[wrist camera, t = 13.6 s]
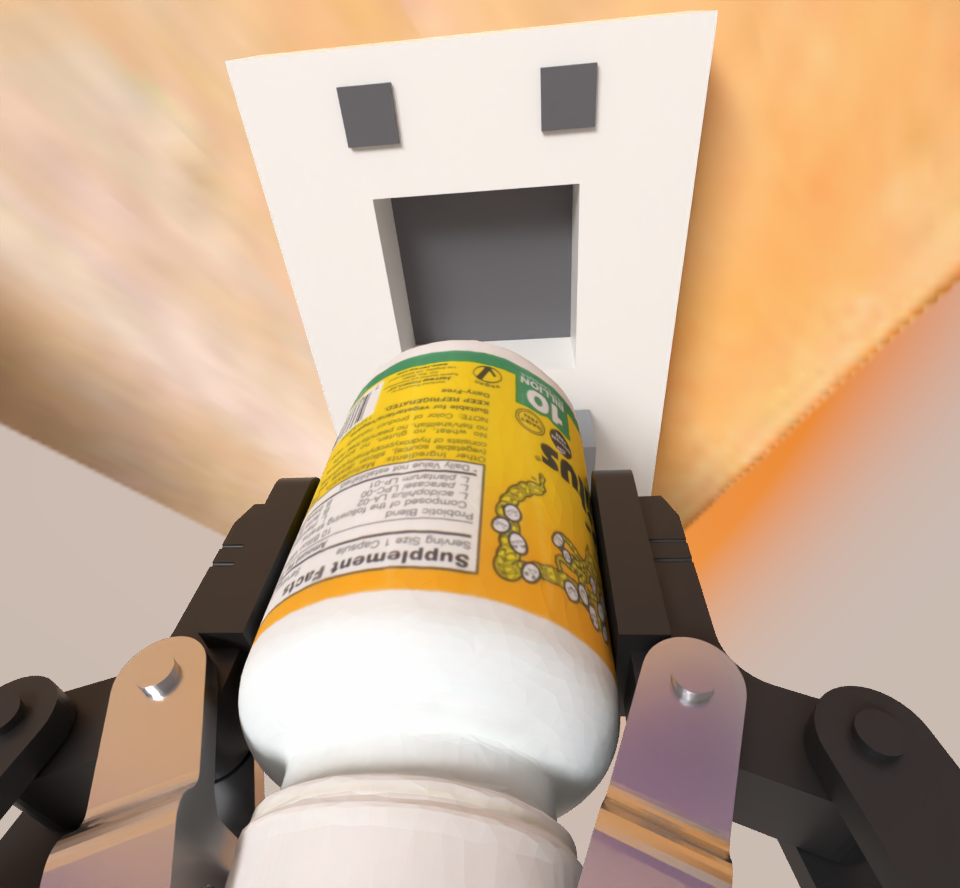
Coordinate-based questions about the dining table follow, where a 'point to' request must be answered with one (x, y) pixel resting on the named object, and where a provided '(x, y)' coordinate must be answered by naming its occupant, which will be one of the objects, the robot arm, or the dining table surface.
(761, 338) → the dining table surface
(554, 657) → the supplement bottle
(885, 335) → the dining table surface
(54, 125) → the dining table surface
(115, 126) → the dining table surface
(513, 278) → the socket plate
